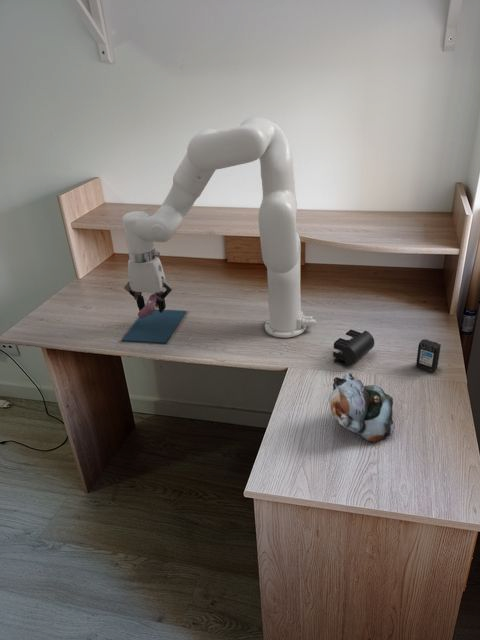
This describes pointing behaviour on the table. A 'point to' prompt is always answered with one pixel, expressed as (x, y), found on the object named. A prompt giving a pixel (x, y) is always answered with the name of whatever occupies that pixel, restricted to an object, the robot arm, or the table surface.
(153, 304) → the video game controller
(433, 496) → the table surface
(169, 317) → the rubber mat
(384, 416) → the lucky cat figurine
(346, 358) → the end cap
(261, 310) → the table surface
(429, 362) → the ink cartridge
